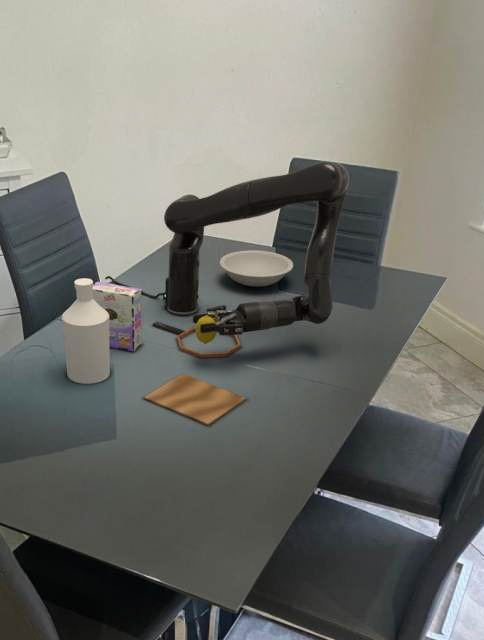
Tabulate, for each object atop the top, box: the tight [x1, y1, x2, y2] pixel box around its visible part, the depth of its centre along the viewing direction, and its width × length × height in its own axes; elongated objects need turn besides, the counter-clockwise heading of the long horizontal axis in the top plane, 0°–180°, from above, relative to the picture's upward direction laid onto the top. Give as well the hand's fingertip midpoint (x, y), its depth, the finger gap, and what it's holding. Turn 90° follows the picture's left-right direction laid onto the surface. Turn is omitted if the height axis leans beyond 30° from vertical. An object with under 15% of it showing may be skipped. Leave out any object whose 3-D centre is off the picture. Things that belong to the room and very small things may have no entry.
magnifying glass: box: [152, 321, 242, 358], centre depth 213 cm, size 28×17×1 cm, turn 50°
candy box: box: [92, 281, 143, 352], centre depth 205 cm, size 14×6×16 cm, turn 65°
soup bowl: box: [219, 249, 294, 288], centre depth 244 cm, size 24×24×7 cm
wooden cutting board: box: [143, 373, 247, 426], centre depth 186 cm, size 20×16×1 cm
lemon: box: [194, 315, 217, 345], centre depth 195 cm, size 6×6×8 cm
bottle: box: [61, 277, 111, 385], centre depth 189 cm, size 12×12×25 cm
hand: (197, 324), depth 193 cm, fingers closed on lemon, 5 cm apart
